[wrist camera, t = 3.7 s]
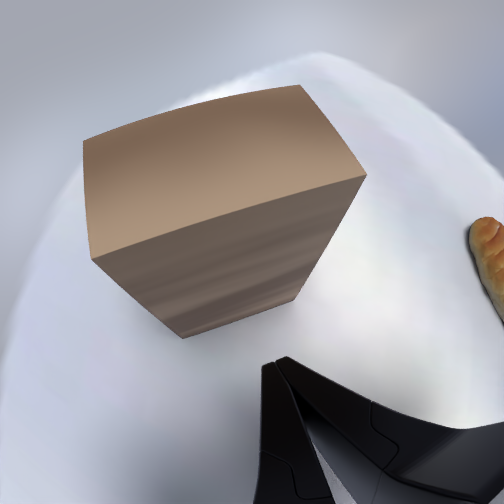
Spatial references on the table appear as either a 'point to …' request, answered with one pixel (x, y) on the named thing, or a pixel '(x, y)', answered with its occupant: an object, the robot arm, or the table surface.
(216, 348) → the table surface
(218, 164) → the block
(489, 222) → the pastry
